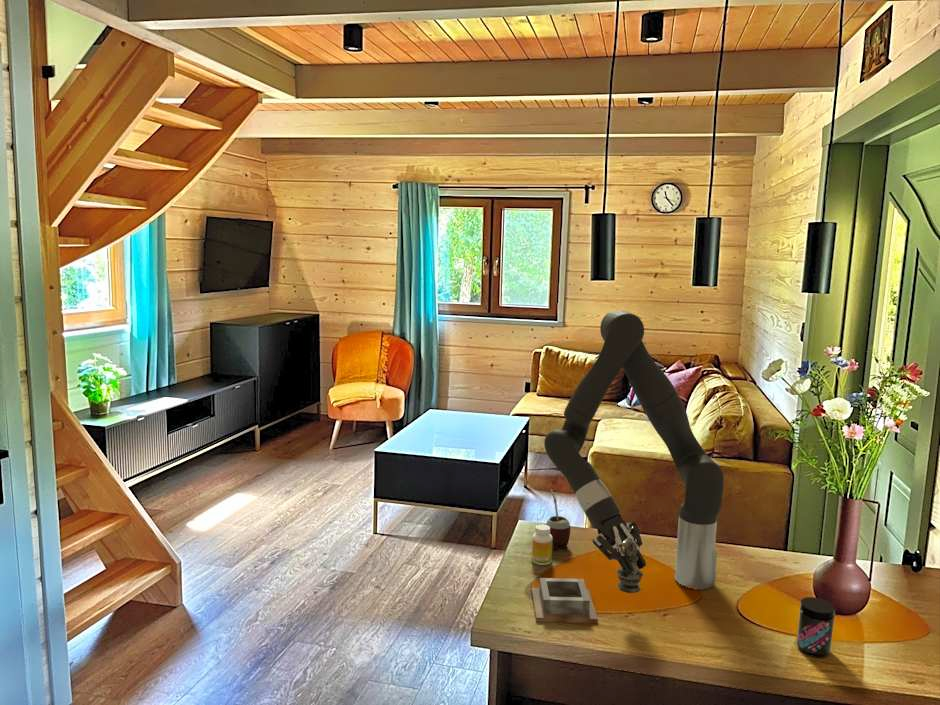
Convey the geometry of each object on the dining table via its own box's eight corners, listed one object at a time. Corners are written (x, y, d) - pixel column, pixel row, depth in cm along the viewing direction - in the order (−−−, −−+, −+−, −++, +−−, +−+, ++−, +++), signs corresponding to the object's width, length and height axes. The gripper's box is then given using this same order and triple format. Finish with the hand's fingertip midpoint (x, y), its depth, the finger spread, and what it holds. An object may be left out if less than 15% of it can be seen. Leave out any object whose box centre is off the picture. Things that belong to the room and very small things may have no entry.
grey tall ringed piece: (643, 583, 168) (645, 534, 166) (640, 595, 162) (642, 545, 160) (617, 579, 170) (619, 531, 168) (614, 591, 164) (616, 541, 162)
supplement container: (788, 644, 158) (793, 600, 156) (811, 638, 161) (816, 594, 159) (814, 661, 152) (819, 615, 150) (837, 654, 154) (842, 609, 153)
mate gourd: (563, 553, 201) (565, 502, 198) (537, 547, 205) (539, 496, 202) (574, 544, 207) (576, 494, 204) (548, 537, 211) (550, 488, 208)
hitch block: (588, 592, 179) (589, 575, 178) (597, 623, 165) (598, 604, 165) (531, 591, 179) (532, 574, 178) (536, 621, 165) (536, 603, 165)
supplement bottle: (552, 565, 193) (553, 531, 192) (532, 565, 193) (533, 530, 192) (550, 556, 199) (552, 523, 197) (531, 556, 199) (532, 522, 197)
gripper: (586, 503, 164) (627, 573, 157) (626, 489, 173) (666, 554, 166) (568, 518, 169) (607, 586, 162) (608, 503, 178) (646, 567, 171)
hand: (637, 569), depth 164 cm, fingers closed on grey tall ringed piece, 3 cm apart
